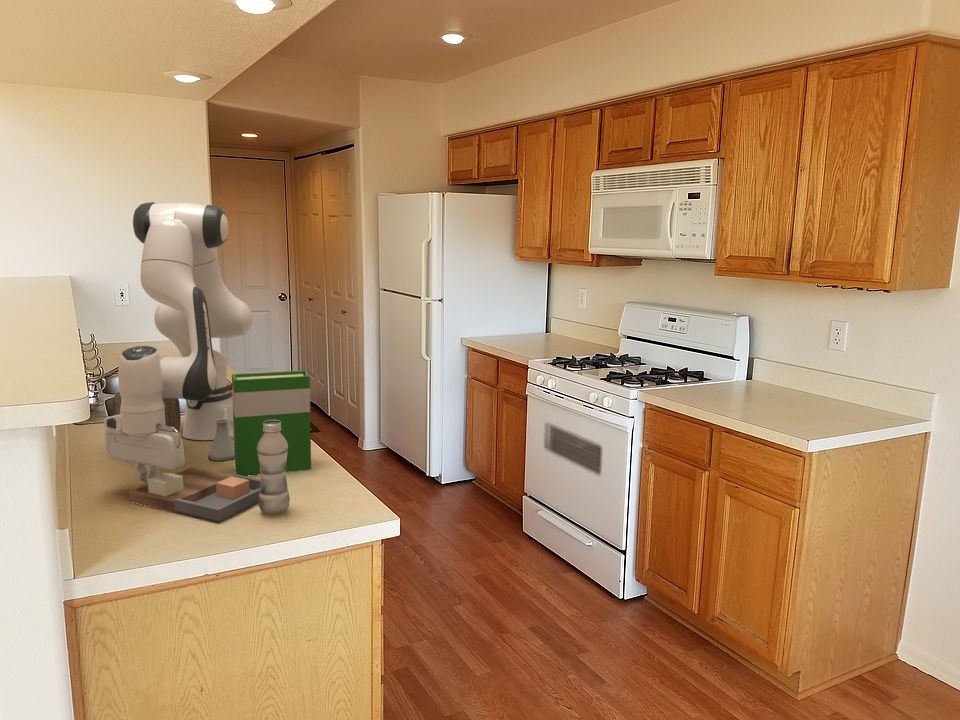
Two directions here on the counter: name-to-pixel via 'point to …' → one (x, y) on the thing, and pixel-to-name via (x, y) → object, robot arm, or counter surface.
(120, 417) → the robot arm
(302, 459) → the hardback book
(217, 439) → the flask
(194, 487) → the walnut board
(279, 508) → the plastic bottle
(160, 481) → the cream block
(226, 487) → the orange square block
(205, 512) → the tray
